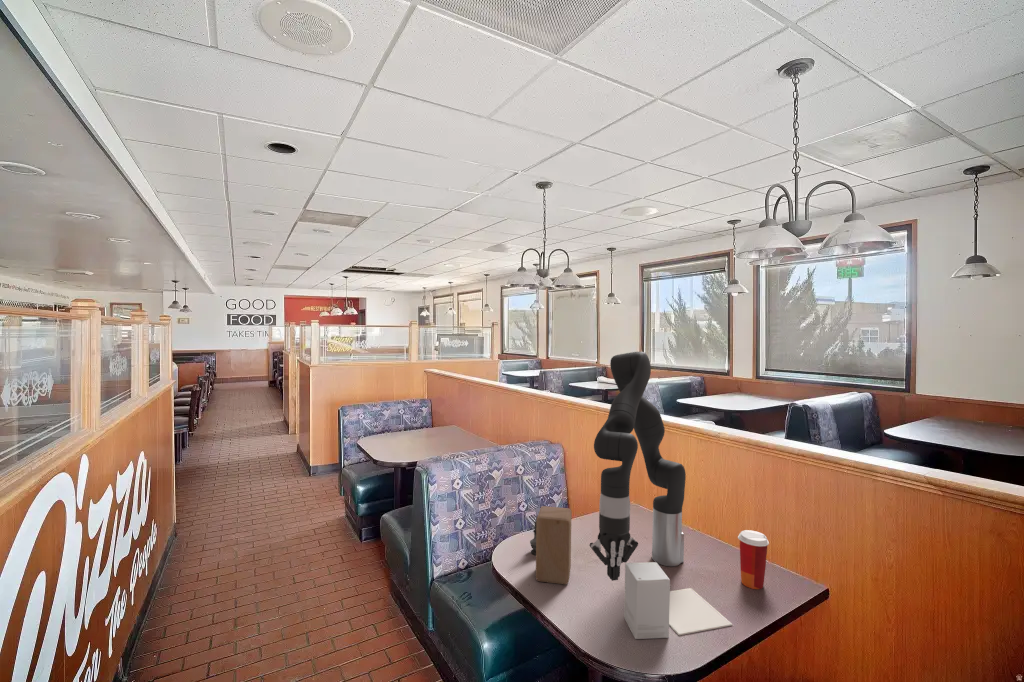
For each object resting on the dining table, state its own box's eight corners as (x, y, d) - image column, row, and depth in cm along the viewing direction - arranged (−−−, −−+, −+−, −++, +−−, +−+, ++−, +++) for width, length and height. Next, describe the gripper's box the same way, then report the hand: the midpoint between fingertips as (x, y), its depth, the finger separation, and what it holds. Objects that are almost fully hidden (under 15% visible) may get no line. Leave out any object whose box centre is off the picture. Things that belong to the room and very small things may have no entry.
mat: (690, 589, 136) (690, 587, 136) (732, 625, 120) (732, 624, 120) (642, 596, 132) (642, 595, 132) (678, 635, 116) (678, 634, 116)
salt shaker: (528, 548, 160) (529, 514, 160) (545, 548, 161) (545, 514, 160) (530, 556, 154) (531, 521, 154) (548, 556, 155) (548, 521, 155)
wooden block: (568, 586, 137) (569, 520, 137) (535, 582, 139) (536, 517, 139) (570, 569, 147) (571, 507, 146) (539, 565, 149) (540, 504, 148)
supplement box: (670, 638, 115) (671, 579, 114) (635, 640, 114) (636, 581, 113) (656, 615, 124) (657, 561, 123) (623, 617, 123) (624, 562, 122)
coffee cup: (764, 579, 142) (766, 531, 142) (770, 594, 134) (771, 543, 134) (734, 574, 145) (736, 527, 144) (738, 588, 137) (739, 538, 137)
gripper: (630, 503, 121) (629, 567, 121) (584, 507, 117) (583, 574, 118) (646, 514, 114) (644, 583, 114) (597, 519, 110) (595, 590, 111)
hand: (613, 578), depth 116 cm, fingers closed
